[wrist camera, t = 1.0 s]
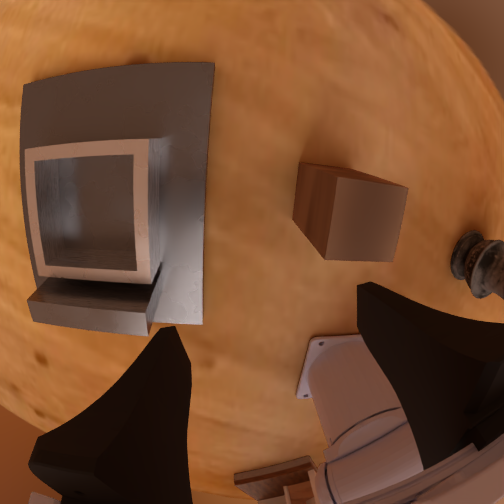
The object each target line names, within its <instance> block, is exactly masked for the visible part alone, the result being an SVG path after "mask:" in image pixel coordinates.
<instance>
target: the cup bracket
mask: <svg viewBox="0 0 504 504" xmlns="http://www.w3.org/2000/svg"><path fill="white" fill-rule="evenodd" d="M214 72H215V63H206V62H172V63H149V64H135V65H124V66H115V67H107V68H100V69H93V70H87V71H81V72H75V73H70V74H65V75H60V76H56V77H51V78H47V79H43V80H39V81H35V82H31V83H28V84H24V86H23V95H22V106H21V120H20V178H21V194H22V205H23V214H24V222H25V230H26V236H27V243H28V248H29V254H30V259H31V264H32V269H33V274H34V278H35V282H36V286H37V290H36V291H35V292H34V293H33V294H32V295H31V296H30V297H29V298H28V299H27V303H28V306H29V309H30V313H31V316H32V319H33V321H34V322H39V323H45V324H51V325H57V326H64V327H70V328H77V329H85V330H92V331H100V332H109V333H119V334H129V335H140V336H149V332H150V329H151V326H152V322H161V323H178V324H200V325H203V264H204V224H205V198H206V178H207V160H208V144H209V130H210V117H211V105H212V93H213V82H214Z"/></svg>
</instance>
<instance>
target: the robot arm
mask: <svg viewBox="0 0 504 504" xmlns="http://www.w3.org/2000/svg"><path fill="white" fill-rule="evenodd" d="M357 327H358V329H359V331H360V334H359V335H345V336H328V337H314V338H312V339H311V340H310V342H309V347H308V351H307V355H306V358H305V362H304V366H303V370H302V374H301V377H300V381H299V385H298V388H297V392H296V397H297V398H298V399H307V398H313V401H314V404H315V407H316V410H317V413H318V416H319V419H320V422H321V425H322V428H323V431H324V434H325V437H326V440H327V443H328V446H329V448H327V449H325V450H324V451H323V452H324V456H325V459H326V462H324V463H321V464H320V465H319V467H318V470H317V473H316V476H315V487H316V492H317V496H318V499H319V501H320V504H495V503H496V502H498V501H499V500H500V499H501V498H503V497H504V323H493V322H484V321H477V320H472V319H467V318H462V317H458V316H454V315H451V314H448V313H444V312H441V311H438V310H435V309H432V308H430V307H427V306H425V305H422V304H420V303H417V302H415V301H413V300H410V299H408V298H406V297H404V296H402V295H399V294H397V293H395V292H393V291H391V290H389V289H387V288H385V287H382V286H380V285H378V284H376V283H373V282H367V283H364V284H360V285H357ZM322 341H323V342H322ZM320 342H322V343H320ZM191 387H192V375H191V362H190V360H189V358H188V355H187V353H186V351H185V349H184V346H183V344H182V342H181V339H180V337H179V334H178V332H177V330H176V327H175V326H171V327H165V328H160V329H159V331H158V332H157V333H156V334H155V335H154V337H153V338H152V339H151V341H150V342H149V343H148V345H147V346H146V347H145V348H144V350H143V351H142V352H141V354H140V355H139V356H138V357H137V359H136V360H135V361H134V362H133V364H132V365H131V366H130V367H129V368H128V369H127V371H126V372H125V373H124V374H123V375H122V376H121V378H120V379H119V380H118V381H117V382H116V383H115V384H114V385H113V386H112V387H111V388H110V389H109V390H108V391H107V392H106V393H105V394H104V395H102V396H101V397H100V398H99V399H98V400H96V401H95V402H94V403H93V404H91V405H90V406H89V407H88V408H87V409H85V410H84V411H83V412H81V413H80V414H78V415H77V416H75V417H74V418H72V419H71V420H69V421H68V422H66V423H64V424H63V425H61V426H59V427H57V428H56V429H54V430H52V431H50V432H48V433H46V434H44V435H42V436H39V437H38V439H37V441H36V443H35V446H34V449H33V451H32V454H31V457H30V460H29V463H28V465H29V468H30V470H31V471H32V472H33V474H34V475H35V476H37V477H38V478H39V479H40V480H41V481H43V482H44V483H45V484H47V485H48V486H49V487H51V488H52V489H54V490H55V491H57V492H58V493H59V494H61V495H62V500H61V502H60V501H58V500H56V499H54V498H51V497H48V496H45V495H41V494H39V493H36V492H32V493H31V496H30V500H29V503H28V504H193V502H192V495H191V488H190V480H189V468H188V454H187V428H188V418H189V408H190V398H191ZM305 394H306V395H305Z"/></svg>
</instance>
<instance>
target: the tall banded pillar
mask: <svg viewBox="0 0 504 504" xmlns="http://www.w3.org/2000/svg"><path fill="white" fill-rule="evenodd" d="M317 470H318V469H317V468H316V466H315V464H314V463H313V461H312V460H311V458H310V456H305V457H302V458H299V459H296V460H292V461H289V462H285V463H282V464H278V465H274V466H270V467H266V468H262V469H257V470H253V471H248V472H243V473H238V474H234V483H235V486H236V487H238V488H239V489H241V490H242V491H243V492H245V493H246V494H248V495H249V496H251V497H253V498H254V499H256V500H257V501H258V504H320V501H319V499H318V496H317V492H316V487H315V476H316V473H317Z"/></svg>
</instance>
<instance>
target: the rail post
mask: <svg viewBox="0 0 504 504" xmlns="http://www.w3.org/2000/svg"><path fill="white" fill-rule="evenodd" d="M407 193H408V188H407V187H404V186H401V185H398V184H396V183H393V182H390V181H387V180H384V179H381V178H378V177H375V176H372V175H369V174H366V173H363V172H359V171H356V170H353V169H346V168H340V167H332V166H325V165H317V164H309V163H300V162H299V167H298V176H297V185H296V193H295V202H294V210H293V218H292V220H293V221H294V222H295V223H296V225H297V226H298V227H299V228H300V230H301V231H302V232H303V233H304V235H305V236H306V237H307V238H308V239H309V241H310V242H311V243H312V245H313V246H314V247H315V248H316V250H317V251H318V252H319V253H320V255H321V256H322V257H323V258H324V260H343V261H375V262H393V258H394V254H395V250H396V246H397V242H398V238H399V233H400V229H401V224H402V219H403V215H404V210H405V204H406V199H407Z"/></svg>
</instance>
